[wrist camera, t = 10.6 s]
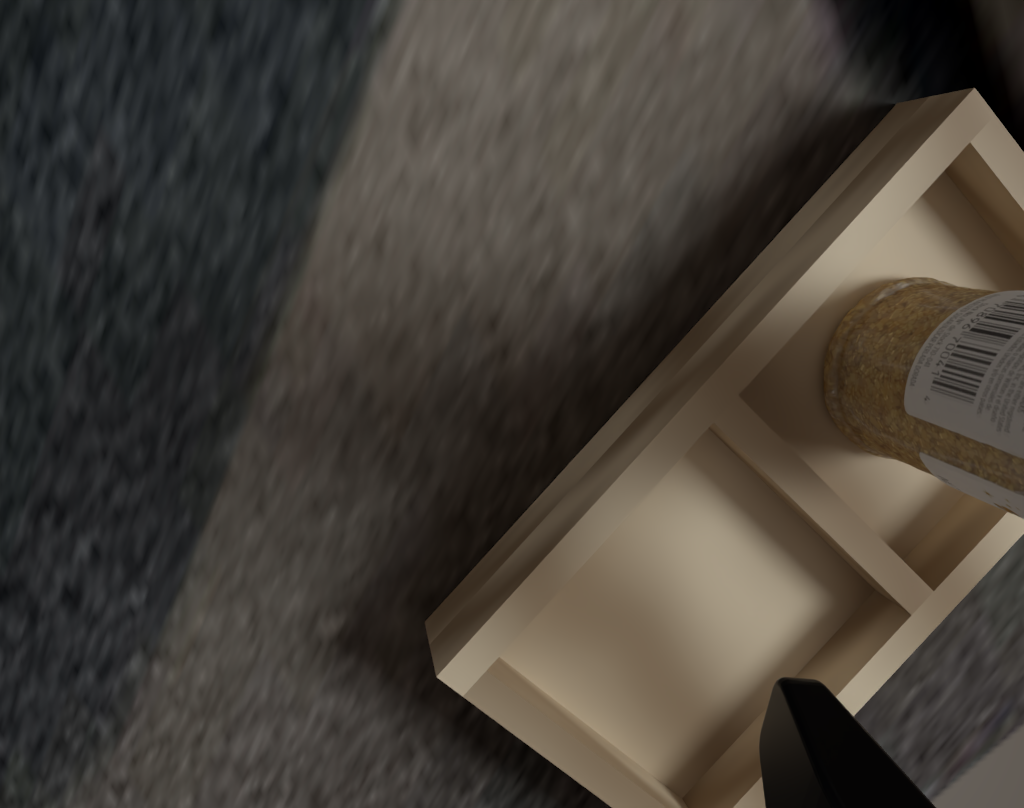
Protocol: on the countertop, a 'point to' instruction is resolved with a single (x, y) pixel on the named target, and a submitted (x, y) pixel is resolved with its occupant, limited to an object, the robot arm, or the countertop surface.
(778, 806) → the robot arm
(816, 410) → the caddy
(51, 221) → the countertop surface
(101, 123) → the countertop surface
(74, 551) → the countertop surface
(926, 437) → the sprinkles bottle
